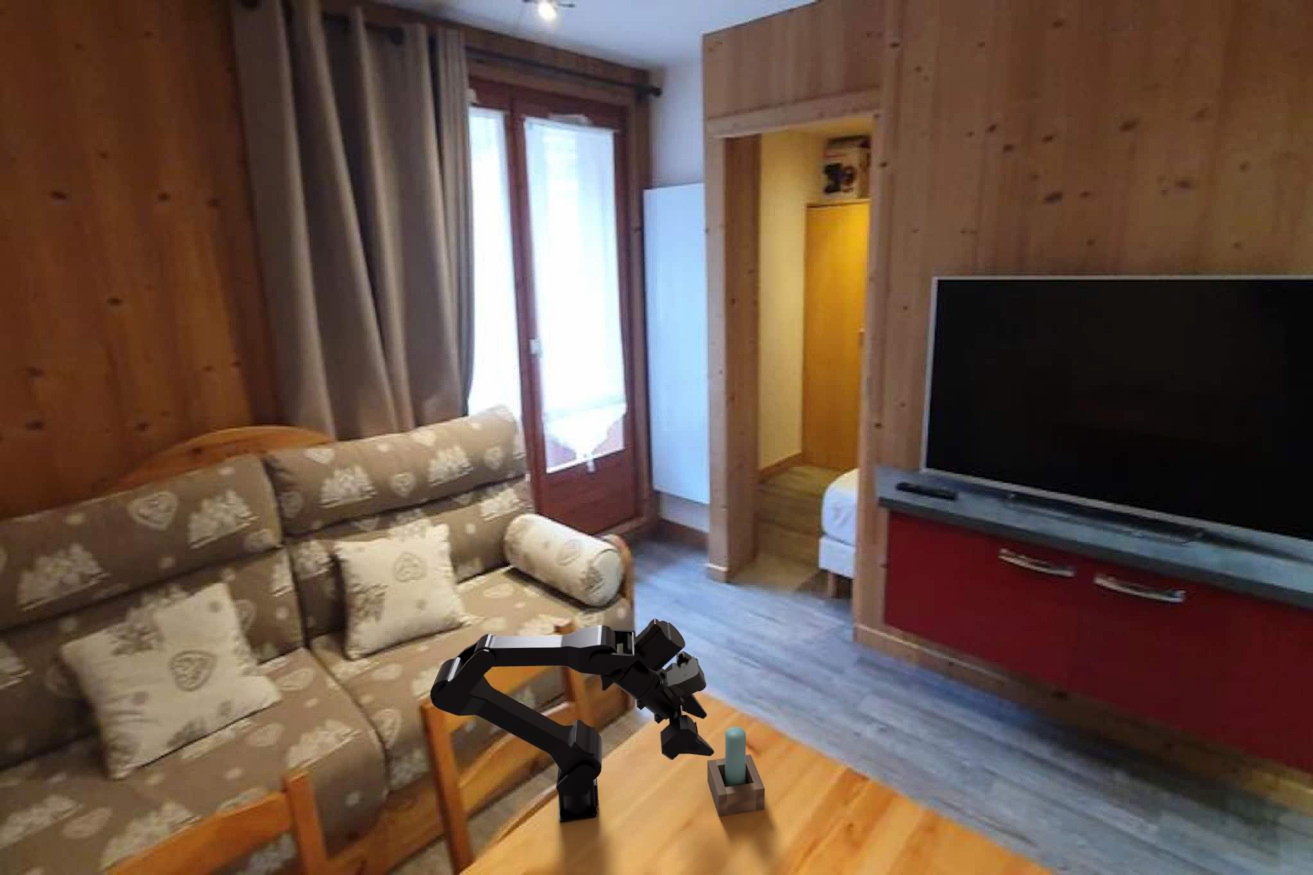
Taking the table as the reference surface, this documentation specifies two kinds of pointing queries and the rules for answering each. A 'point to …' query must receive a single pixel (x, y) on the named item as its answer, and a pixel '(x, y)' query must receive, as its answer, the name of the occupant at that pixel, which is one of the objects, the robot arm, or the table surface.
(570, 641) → the robot arm
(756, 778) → the hole block
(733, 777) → the teal cylinder rod
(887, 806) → the table surface
